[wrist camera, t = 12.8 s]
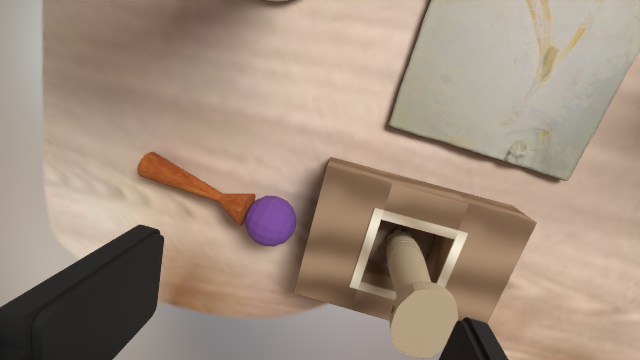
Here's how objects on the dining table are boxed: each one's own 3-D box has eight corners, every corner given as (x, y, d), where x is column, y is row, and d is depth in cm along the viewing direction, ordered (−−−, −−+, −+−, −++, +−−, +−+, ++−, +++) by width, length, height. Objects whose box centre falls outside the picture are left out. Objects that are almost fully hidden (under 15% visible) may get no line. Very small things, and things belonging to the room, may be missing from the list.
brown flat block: (330, 157, 37) (326, 166, 32) (512, 205, 36) (537, 223, 31) (301, 270, 41) (293, 294, 36) (462, 316, 41) (476, 346, 36)
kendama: (139, 140, 35) (298, 212, 34) (170, 143, 41) (307, 204, 39) (122, 188, 36) (277, 261, 34) (155, 184, 42) (289, 246, 40)
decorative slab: (565, 179, 35) (578, 184, 33) (384, 131, 36) (386, 133, 34) (709, -105, 27) (735, -120, 26) (474, -158, 28) (483, -176, 26)
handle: (426, 221, 38) (469, 300, 23) (409, 266, 40) (439, 364, 25) (388, 211, 38) (407, 282, 24) (373, 256, 40) (382, 347, 25)
